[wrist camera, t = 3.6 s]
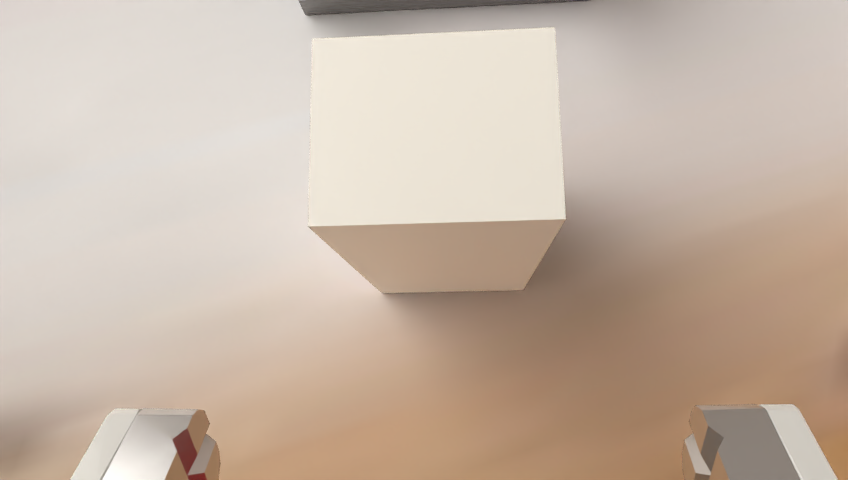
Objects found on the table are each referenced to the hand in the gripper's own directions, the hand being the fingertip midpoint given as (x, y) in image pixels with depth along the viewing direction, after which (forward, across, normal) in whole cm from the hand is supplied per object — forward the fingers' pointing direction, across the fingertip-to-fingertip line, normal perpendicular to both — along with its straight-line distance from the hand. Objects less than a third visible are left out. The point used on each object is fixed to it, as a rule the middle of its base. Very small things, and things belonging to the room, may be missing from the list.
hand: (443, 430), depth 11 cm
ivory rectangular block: (+12, 0, +4) cm, 13 cm away
